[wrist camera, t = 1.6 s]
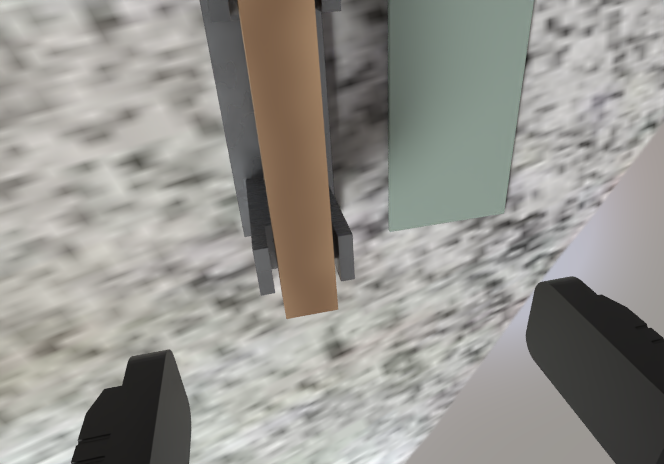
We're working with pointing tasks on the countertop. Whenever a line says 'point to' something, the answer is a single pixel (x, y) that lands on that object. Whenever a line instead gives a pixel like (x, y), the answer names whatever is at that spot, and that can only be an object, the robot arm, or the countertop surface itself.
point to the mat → (452, 106)
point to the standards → (244, 141)
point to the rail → (292, 147)
